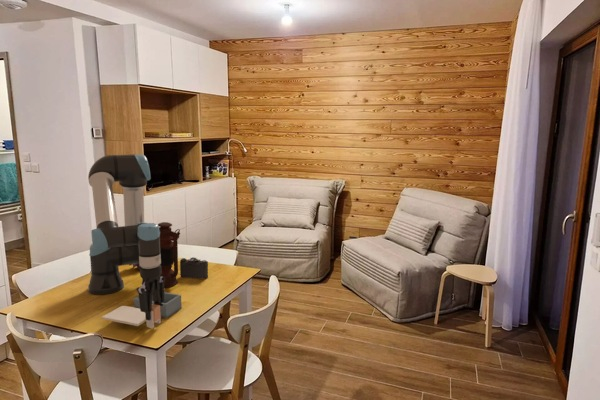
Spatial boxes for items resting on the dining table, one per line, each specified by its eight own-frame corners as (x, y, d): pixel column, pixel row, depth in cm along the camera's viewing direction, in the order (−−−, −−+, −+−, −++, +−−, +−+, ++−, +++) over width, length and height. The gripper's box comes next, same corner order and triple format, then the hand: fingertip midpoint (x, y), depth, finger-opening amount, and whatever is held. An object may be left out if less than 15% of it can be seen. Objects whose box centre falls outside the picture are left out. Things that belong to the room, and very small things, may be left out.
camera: (212, 272, 216) (212, 254, 214) (206, 279, 205) (205, 260, 203) (186, 271, 217) (186, 253, 215) (178, 278, 206) (178, 259, 205)
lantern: (138, 283, 195) (140, 223, 190) (158, 274, 208) (160, 217, 202) (167, 291, 189) (169, 230, 183) (186, 282, 202) (189, 224, 196)
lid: (102, 321, 155) (101, 304, 153) (123, 310, 165) (121, 293, 163) (148, 331, 148) (147, 313, 147) (167, 318, 158) (166, 301, 157)
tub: (134, 312, 168) (133, 298, 167) (150, 302, 177) (149, 289, 176) (166, 318, 163) (166, 304, 162) (181, 308, 172) (181, 294, 171)
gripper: (143, 273, 141) (147, 336, 145) (172, 260, 156) (175, 317, 160) (126, 271, 143) (130, 333, 147) (156, 258, 158) (159, 314, 162)
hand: (153, 324), depth 153 cm, fingers closed on lid, 3 cm apart
